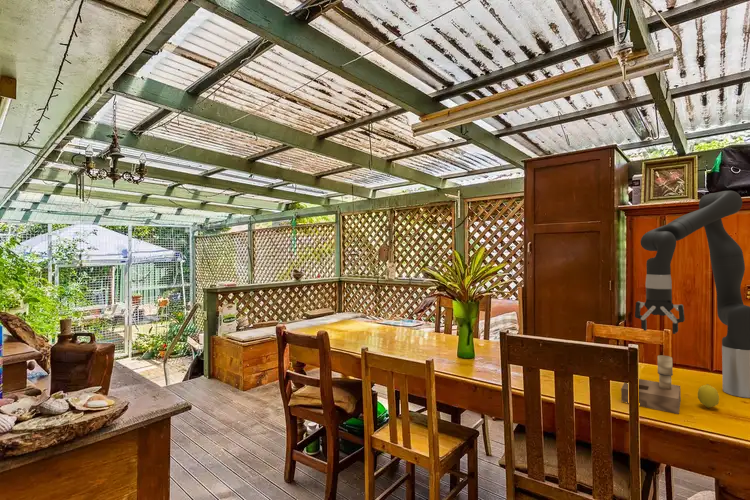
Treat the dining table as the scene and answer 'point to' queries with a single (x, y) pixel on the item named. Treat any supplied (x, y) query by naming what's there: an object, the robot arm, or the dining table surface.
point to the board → (656, 396)
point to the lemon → (708, 396)
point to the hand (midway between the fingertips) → (659, 331)
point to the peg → (665, 371)
